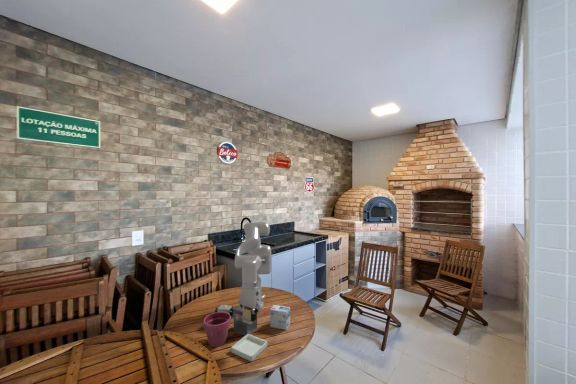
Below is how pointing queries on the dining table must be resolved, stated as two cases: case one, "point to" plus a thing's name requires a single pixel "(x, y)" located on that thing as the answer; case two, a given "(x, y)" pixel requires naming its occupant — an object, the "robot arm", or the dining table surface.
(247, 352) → the tray
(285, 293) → the dining table surface
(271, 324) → the light bulb box
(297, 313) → the dining table surface
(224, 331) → the plant pot
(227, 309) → the pneumatic valve
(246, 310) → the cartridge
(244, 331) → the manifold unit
